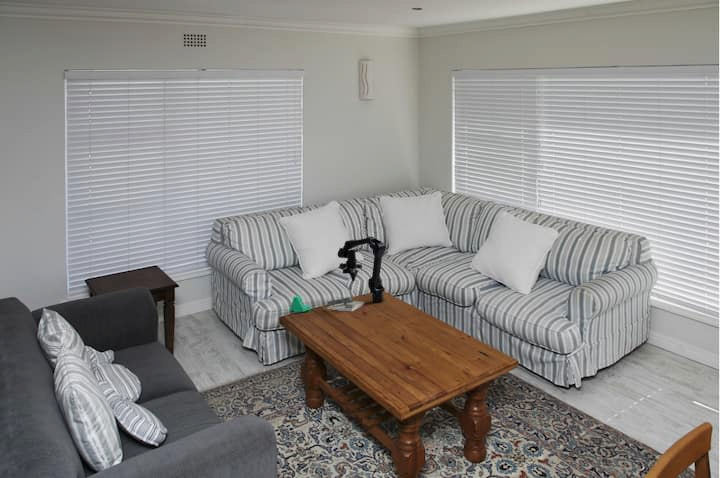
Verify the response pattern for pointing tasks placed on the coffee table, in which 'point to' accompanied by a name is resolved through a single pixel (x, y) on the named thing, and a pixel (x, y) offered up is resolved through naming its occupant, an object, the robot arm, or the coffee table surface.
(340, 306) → the levelling board
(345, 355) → the coffee table surface
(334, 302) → the footscrew knob
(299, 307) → the green irregular lump
